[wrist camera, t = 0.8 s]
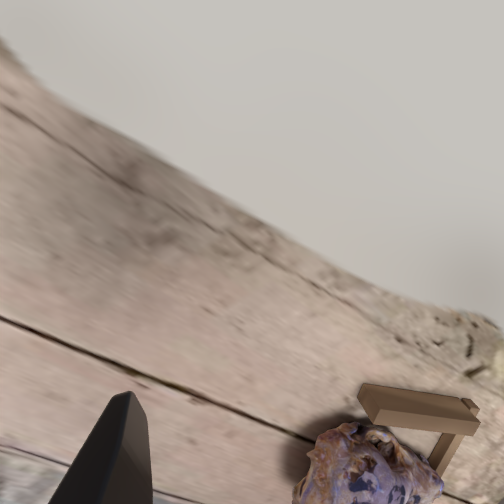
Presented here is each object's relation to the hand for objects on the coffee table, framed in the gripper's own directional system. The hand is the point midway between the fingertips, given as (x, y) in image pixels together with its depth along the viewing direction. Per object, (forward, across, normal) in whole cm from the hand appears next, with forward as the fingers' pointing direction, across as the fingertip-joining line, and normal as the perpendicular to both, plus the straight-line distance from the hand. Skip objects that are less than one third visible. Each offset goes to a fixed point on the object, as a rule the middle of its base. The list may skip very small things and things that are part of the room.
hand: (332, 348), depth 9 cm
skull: (+11, -3, +24) cm, 27 cm away
